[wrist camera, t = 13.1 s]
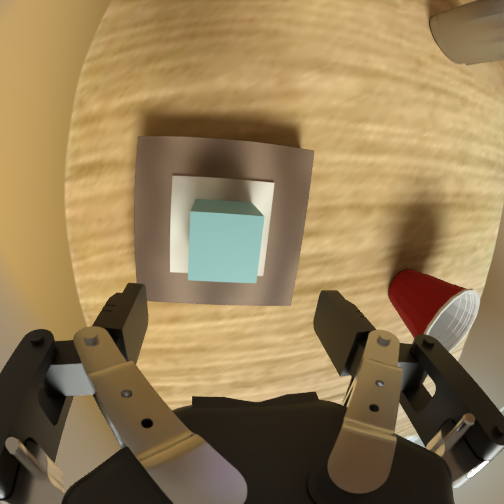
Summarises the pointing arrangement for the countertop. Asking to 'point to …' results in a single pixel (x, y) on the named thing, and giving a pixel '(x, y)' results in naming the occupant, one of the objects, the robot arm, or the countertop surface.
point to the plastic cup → (434, 306)
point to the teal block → (224, 241)
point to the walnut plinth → (218, 188)
